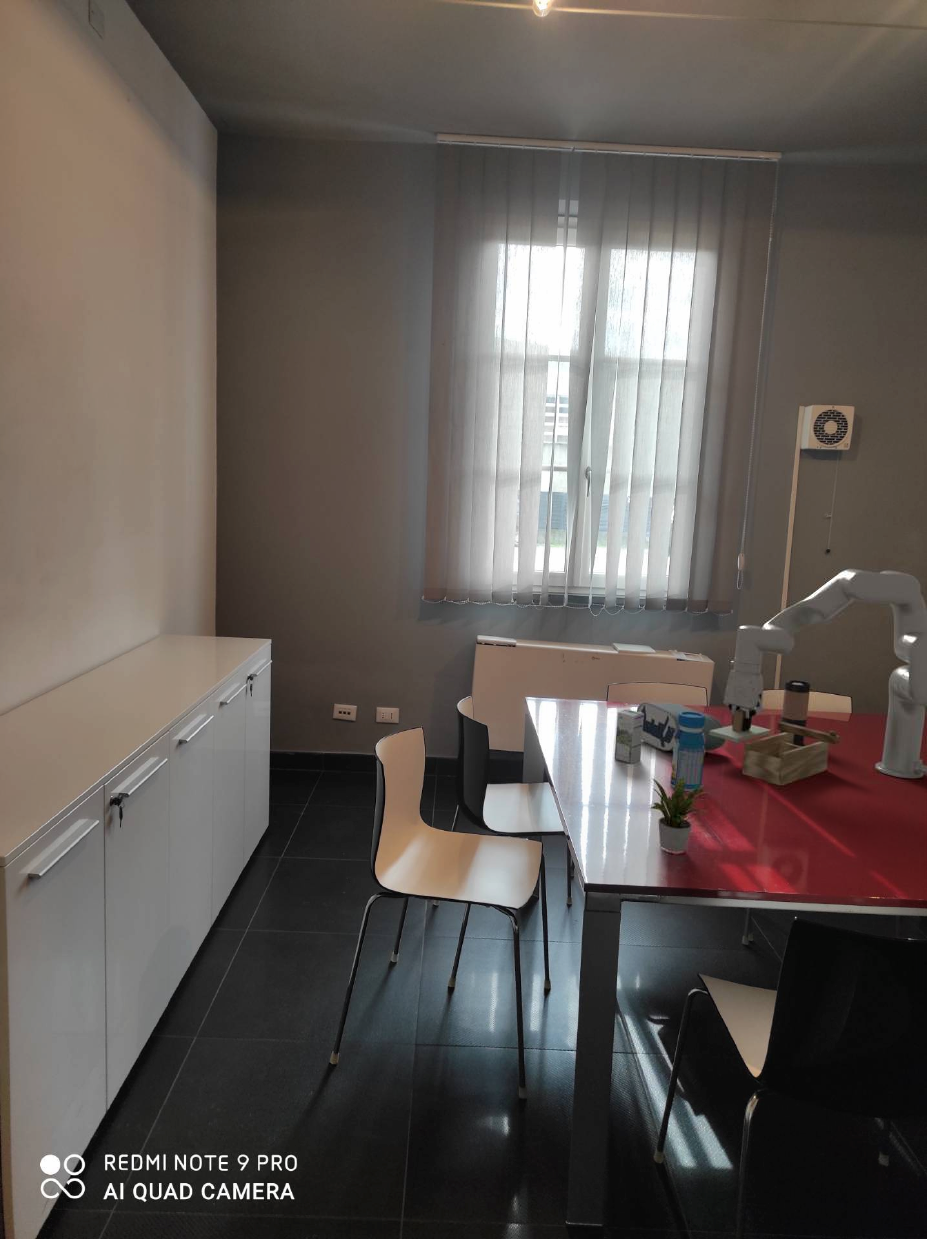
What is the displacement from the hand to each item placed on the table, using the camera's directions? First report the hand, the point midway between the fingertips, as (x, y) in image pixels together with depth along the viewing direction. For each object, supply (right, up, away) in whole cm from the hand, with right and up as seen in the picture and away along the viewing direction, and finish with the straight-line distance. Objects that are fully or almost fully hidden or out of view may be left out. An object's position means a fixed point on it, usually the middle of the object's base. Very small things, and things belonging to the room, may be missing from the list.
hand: (741, 728), depth 253 cm
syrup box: (-34, -9, -2) cm, 35 cm away
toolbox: (+11, -12, -6) cm, 17 cm away
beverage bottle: (-22, -13, -23) cm, 35 cm away
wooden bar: (+19, -2, 0) cm, 20 cm away
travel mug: (+24, -8, +25) cm, 36 cm away
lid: (0, -2, 0) cm, 2 cm away
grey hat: (-15, -8, +15) cm, 23 cm away
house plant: (-36, -19, -67) cm, 78 cm away
